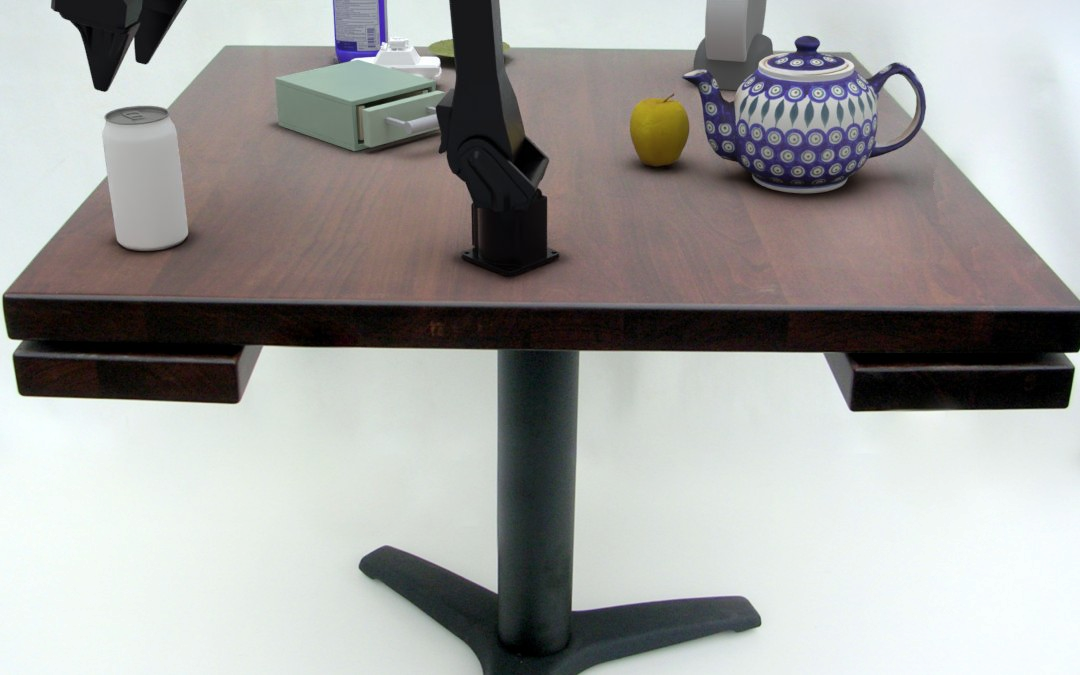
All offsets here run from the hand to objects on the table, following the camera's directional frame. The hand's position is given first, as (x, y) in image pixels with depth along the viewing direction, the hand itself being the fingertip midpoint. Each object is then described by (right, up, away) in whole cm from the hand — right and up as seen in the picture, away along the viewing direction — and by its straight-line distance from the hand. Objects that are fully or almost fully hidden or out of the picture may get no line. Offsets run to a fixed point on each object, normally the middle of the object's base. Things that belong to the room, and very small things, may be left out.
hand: (122, 76), depth 121 cm
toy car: (+18, +9, +54) cm, 58 cm away
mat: (+27, +15, +68) cm, 74 cm away
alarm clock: (+62, +11, +59) cm, 87 cm away
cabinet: (+16, +1, +39) cm, 42 cm away
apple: (+50, -5, +26) cm, 56 cm away
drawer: (+19, +1, +35) cm, 40 cm away
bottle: (+13, +15, +67) cm, 70 cm away
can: (+1, -14, +6) cm, 16 cm away
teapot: (+64, -7, +22) cm, 68 cm away
